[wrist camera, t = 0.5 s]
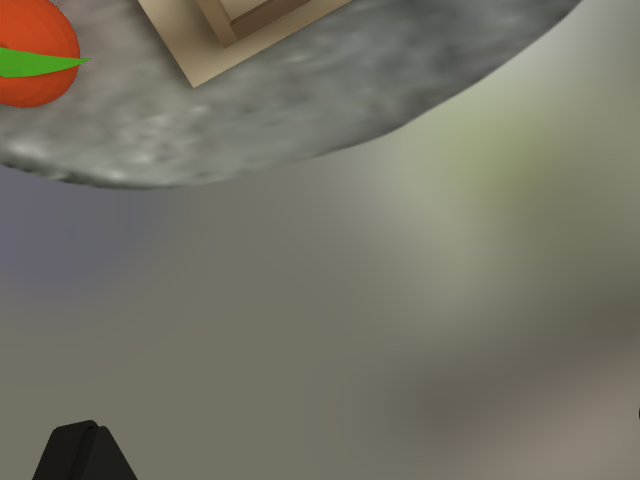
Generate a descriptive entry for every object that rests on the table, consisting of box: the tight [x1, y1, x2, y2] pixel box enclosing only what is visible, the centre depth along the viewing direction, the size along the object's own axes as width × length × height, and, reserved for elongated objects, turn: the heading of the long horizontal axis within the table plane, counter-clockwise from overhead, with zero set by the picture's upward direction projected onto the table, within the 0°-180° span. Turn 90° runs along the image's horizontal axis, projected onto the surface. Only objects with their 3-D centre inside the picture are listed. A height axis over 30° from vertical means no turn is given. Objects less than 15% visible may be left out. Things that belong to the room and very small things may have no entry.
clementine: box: [0, 0, 92, 108], centre depth 34 cm, size 8×7×7 cm
